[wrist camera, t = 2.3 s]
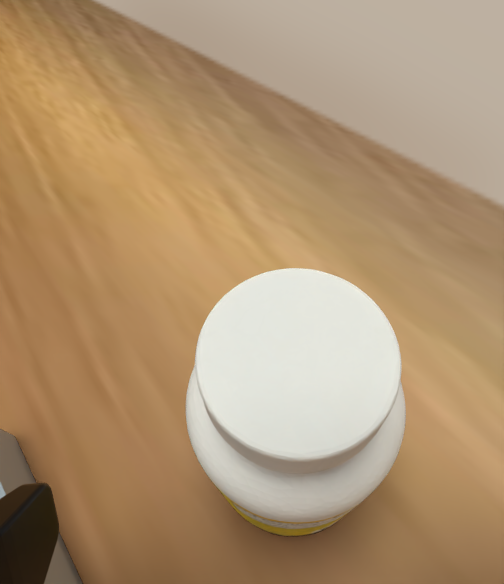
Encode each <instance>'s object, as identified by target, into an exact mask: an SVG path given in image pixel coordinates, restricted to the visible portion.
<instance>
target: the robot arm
mask: <svg viewBox="0 0 504 584" xmlns="http://www.w3.org/2000/svg"><path fill="white" fill-rule="evenodd" d="M58 534H59V523H58V518H57V513H56V508H55V504H54V499H53V494H52V490H51V488H50V486H49V485H48V484H46V483H32V484H23V485H21V486H19V487H17V488H16V489H14V490H13V491H11V492H10V493H8V494H7V495H5V496H3V497H2V498H0V584H44V583H45V579H46V576H47V573H48V569H49V566H50V563H51V560H52V556H53V553H54V550H55V546H56V543H57V540H58Z"/></svg>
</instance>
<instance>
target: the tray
mask: <svg viewBox="0 0 504 584" xmlns="http://www.w3.org/2000/svg"><path fill="white" fill-rule="evenodd" d="M32 483H36V481H35V479H34V477H33V474H32V472H31V470H30V468H29V466H28V464H27V461H26V459H25V457H24V455H23V453H22V451H21V448H20V446H19V444H18V442H17V440H16V438H15V436H13V435H11V434H9V433H7V432H5V431H3V430H2V429H0V498H2V497H3V496H5V495H7V494H8V493H10V492H11V491H13V490H14V489H16V488H17V487H19V486H21V485H23V484H32ZM44 584H83V583H82V581H81V579H80V576H79V574H78V572H77V570H76V568H75V566H74V563H73V561H72V559H71V557H70V555H69V553H68V550H67V548H66V546H65V544H64V542H63V540H62V537H61V535H60V533H59V534H58V540H57V543H56V546H55V550H54V553H53V556H52V560H51V563H50V566H49V569H48V573H47V576H46V579H45V583H44Z"/></svg>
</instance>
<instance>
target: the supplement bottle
mask: <svg viewBox="0 0 504 584" xmlns="http://www.w3.org/2000/svg"><path fill="white" fill-rule="evenodd" d="M400 380H401V355H400V350H399V345H398V342H397V338H396V336H395V333H394V331H393V329H392V327H391V325H390V323H389V321H388V319H387V318H386V316H385V315H384V313H383V312H382V311H381V309H380V308H379V307H378V305H377V304H376V303H375V302H374V301H373V300H372V299H371V298H370V297H369V296H368V295H367V294H365V293H364V292H363V291H362V290H360V289H359V288H358V287H356V286H355V285H353V284H351V283H350V282H348V281H346V280H344V279H342V278H339V277H337V276H334V275H331V274H328V273H325V272H321V271H317V270H312V269H300V268H288V269H279V270H274V271H269V272H266V273H262V274H259V275H257V276H255V277H252V278H250V279H248V280H246V281H244V282H242V283H241V284H239V285H237V286H236V287H235V288H233V289H232V290H231V291H229V292H228V293H227V294H226V295H224V296H223V298H222V299H221V300H220V301H219V302H218V303H217V304H216V305H215V307H214V308H213V309H212V311H211V312H210V314H209V315H208V317H207V319H206V321H205V323H204V325H203V327H202V330H201V332H200V335H199V339H198V343H197V348H196V355H195V366H194V369H193V371H192V374H191V377H190V380H189V385H188V390H187V397H186V420H187V428H188V433H189V437H190V441H191V444H192V446H193V449H194V452H195V454H196V456H197V459H198V461H199V463H200V464H201V466H202V468H203V469H204V471H205V472H206V474H207V475H208V477H209V478H210V480H211V481H212V483H213V484H214V485H215V486H216V487H217V488H218V490H219V491H220V492H221V493H222V494H223V496H224V497H225V498H226V499H227V501H228V502H229V503H230V504H231V506H232V507H233V508H234V509H235V510H236V511H237V512H238V513H239V514H240V515H241V516H242V517H243V518H244V519H246V520H247V521H248V522H250V523H251V524H253V525H254V526H256V527H258V528H260V529H262V530H265V531H267V532H269V533H271V534H276V535H281V536H304V535H310V534H315V533H317V532H320V531H322V530H324V529H326V528H328V527H330V526H331V525H333V524H334V523H336V522H337V521H339V520H340V519H341V518H342V517H343V516H345V515H346V514H347V513H348V512H350V511H351V510H352V509H354V508H355V507H356V506H357V505H358V504H360V503H361V502H362V501H363V500H364V499H366V498H367V497H368V496H369V495H370V494H371V493H372V492H373V491H374V490H375V489H376V488H377V487H378V486H379V484H380V483H381V482H382V481H383V479H384V478H385V477H386V475H387V474H388V473H389V471H390V469H391V467H392V465H393V464H394V462H395V460H396V457H397V455H398V453H399V450H400V446H401V443H402V439H403V435H404V429H405V418H406V410H405V399H404V393H403V389H402V384H401V381H400Z"/></svg>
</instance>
